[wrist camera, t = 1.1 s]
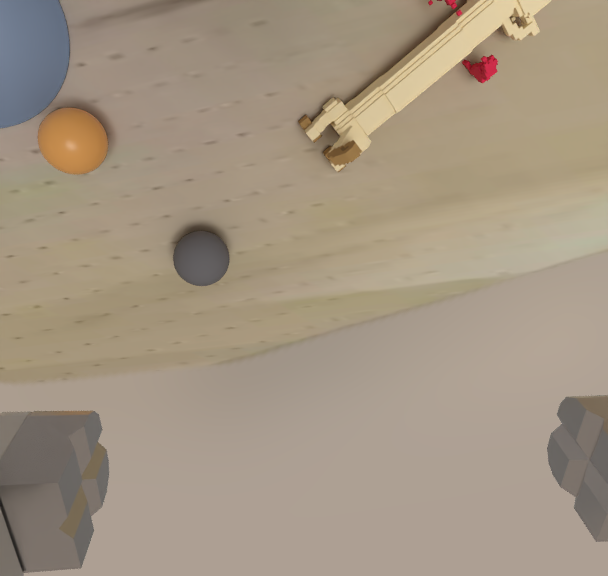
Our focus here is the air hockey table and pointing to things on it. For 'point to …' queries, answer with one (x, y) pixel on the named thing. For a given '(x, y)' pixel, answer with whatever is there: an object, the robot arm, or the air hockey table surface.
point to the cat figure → (421, 72)
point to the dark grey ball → (201, 258)
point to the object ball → (72, 141)
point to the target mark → (31, 57)
